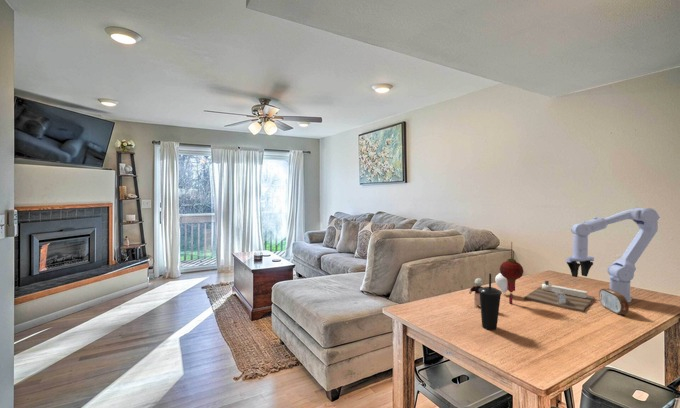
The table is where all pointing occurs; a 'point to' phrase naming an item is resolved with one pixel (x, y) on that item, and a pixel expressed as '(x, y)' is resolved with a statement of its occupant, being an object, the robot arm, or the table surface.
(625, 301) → the tin
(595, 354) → the table surface
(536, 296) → the pivot board
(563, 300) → the block
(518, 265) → the lantern
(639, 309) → the table surface
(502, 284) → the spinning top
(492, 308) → the drinking cup
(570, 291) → the pivot bar
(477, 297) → the grandmother figurine
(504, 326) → the table surface
